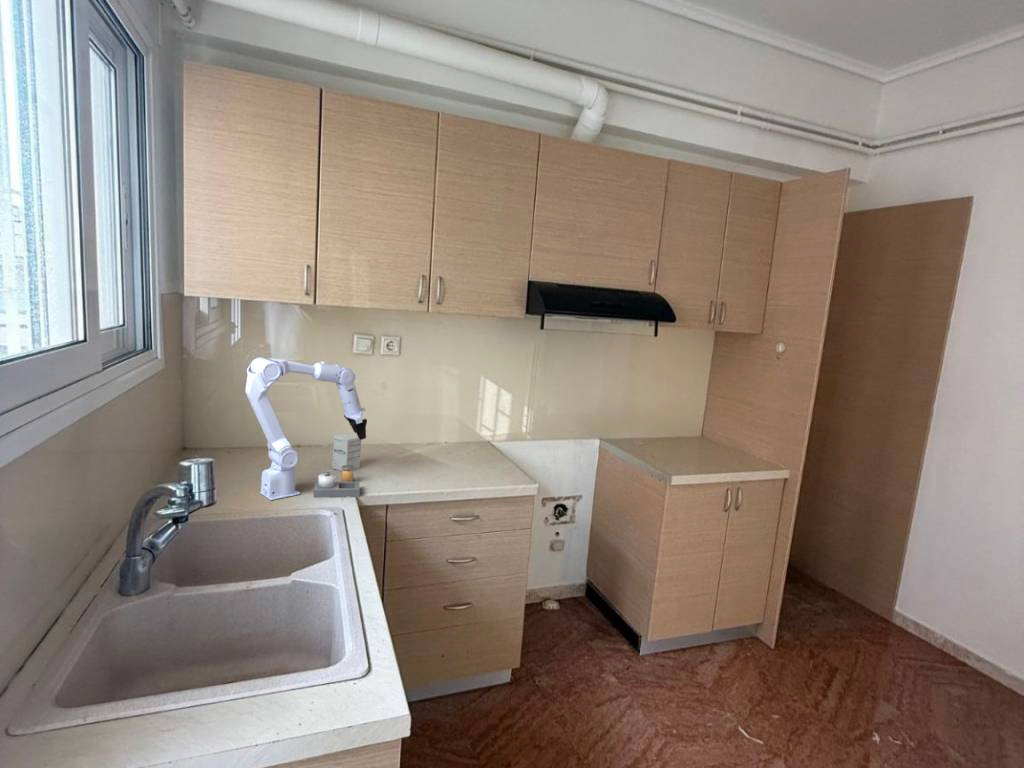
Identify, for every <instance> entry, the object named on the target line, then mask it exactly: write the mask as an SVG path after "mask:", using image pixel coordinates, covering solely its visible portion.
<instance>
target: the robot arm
mask: <svg viewBox="0 0 1024 768" xmlns="http://www.w3.org/2000/svg"><path fill="white" fill-rule="evenodd" d="M246 371H247V372H246V373H247V377H246V383H245V394H246V397H247V399H248V401H249V403H250V405H251V408H252V409H253V413H254V414H255V416H256V418H257V421H258V423H259V424H260V427H261V430H262V432H263V434H264V436H265V438H266V441H267V444H266V445H267V448H268V453H267V454H268V458H269V459H270V461H271V465H270V467H269V468H267V469H264V470H262V472H261V482H260V483H261V486H260V488H261V489H260V493H259V494H261V495H262V496H264V497H265V498H266V499H268V500H269V501H274V500H279V499H284V498H289V497H293V496H298V495H301V492H300V491H298V490H296V466H297V465H298V463H299V461H300V455H299V453H298V452H297V451H296V450H295V449H294V448H293V447H292V445H291V443H290V442H289V441H288V439H287V438H286V436H285V433H284V432H283V429H282V427H281V425H280V422H279V419H278V417H277V416H276V413H275V411H274V408H273V405H272V404H271V401H270V399H269V397H268V395H267V393H268V391H269V389H270V387H272V386H273V385H274V384H275V383H276V382H277V381H278V380H279V379H280V378H281V376H283V377H285V376H286V375H287V374H289V373H294V374H303V375H309V376H311V377H312V378H313V380H315V381H322V382H326V383H335V384H336V388H337V392H338V395H339V398H340V402H341V404H342V409H343V413H344V415H343V416H344V418H345V419H346V420H347V421H348V423H349V426H350V428H352V431H353V432H354V433H355V434H356V436H358V437H359V439H360V440H361V441H362V440H365V439H366V438H367V430H366V429H367V423H368V419H367V418H363V419H362V416H363V413H364V412H365V411H366V408H365V407H362V406H361V402H360V399H359V395H358V392H357V387H356V385H355V380H356V374H355V373H354V371H353V370H352V369H350V368H348V367H344V366H341V365H340V364H335V365H333V364H330V363H329V364H328V363H327V362H326V361H323V360H321V361H320V362H316V363H314V364H313V365H311V364H307V363H303V362H302V363H301V362H297V361H292V360H287V359H283V358H272V357H270V358H269V357H268V359H267V358H265V357H256V358H254V359H253V360H252V361H251V363H250V364H249V366H248V367H247V369H246Z"/></svg>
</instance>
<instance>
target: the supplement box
mask: <svg viewBox="0 0 1024 768" xmlns="http://www.w3.org/2000/svg"><path fill="white" fill-rule="evenodd" d="M361 449H362V440H360V439H359V437H358V436H357V435H354V434H350V433H343V434H339V435H334V436H333V449H332V463H331V465H332V466H331V468H332V470H333V469H334V470H337V471H340V472H342V466H344V465H352V466H354V470H353V471H355V470H359V469H360V465H361V454H362V453H361V451H362V450H361Z"/></svg>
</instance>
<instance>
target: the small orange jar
mask: <svg viewBox="0 0 1024 768" xmlns="http://www.w3.org/2000/svg"><path fill="white" fill-rule="evenodd" d="M354 471H355V470H354V466H352V465H344V466H342V471H341V482H354V481H353V478H354V477H353V476H354Z"/></svg>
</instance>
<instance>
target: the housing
mask: <svg viewBox="0 0 1024 768" xmlns="http://www.w3.org/2000/svg"><path fill="white" fill-rule="evenodd" d="M317 479H318V481H315V483H314V488H313V498H314V497H330V498H348V497H347V496H351V497H350V498H360V481H352V482H342V481H336V474H334V473H330V472H329V471H324V472H323V473H320V474H318V477H317Z"/></svg>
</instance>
